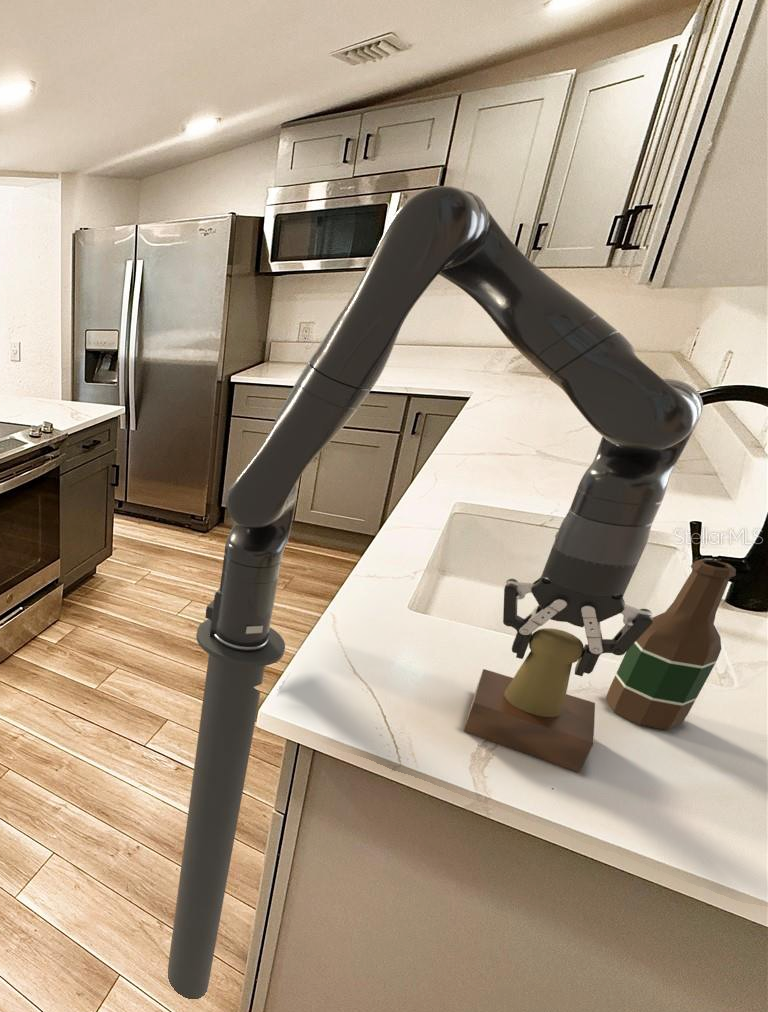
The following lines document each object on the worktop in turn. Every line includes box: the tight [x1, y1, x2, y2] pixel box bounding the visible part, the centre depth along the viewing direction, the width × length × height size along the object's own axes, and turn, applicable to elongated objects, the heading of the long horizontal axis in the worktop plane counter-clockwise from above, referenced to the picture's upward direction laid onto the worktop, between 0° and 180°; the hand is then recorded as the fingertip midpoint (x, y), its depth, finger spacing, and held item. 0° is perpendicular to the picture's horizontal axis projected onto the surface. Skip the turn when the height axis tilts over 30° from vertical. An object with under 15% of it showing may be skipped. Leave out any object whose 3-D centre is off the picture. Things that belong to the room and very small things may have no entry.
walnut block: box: [463, 668, 596, 774], centre depth 85 cm, size 12×10×5 cm
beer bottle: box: [605, 558, 737, 731], centre depth 83 cm, size 8×8×24 cm
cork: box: [504, 627, 585, 717], centre depth 81 cm, size 6×6×11 cm
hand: (548, 663), depth 81 cm, fingers closed on cork, 5 cm apart
